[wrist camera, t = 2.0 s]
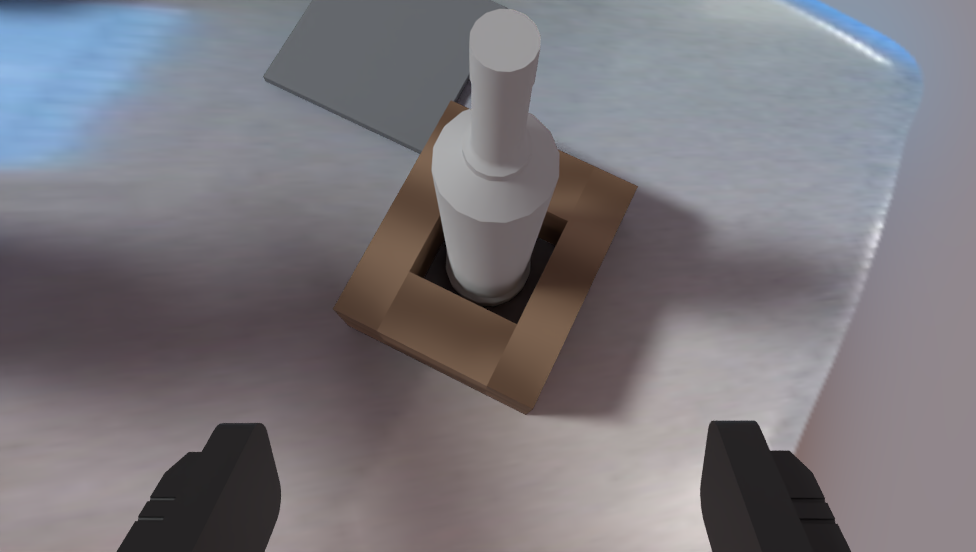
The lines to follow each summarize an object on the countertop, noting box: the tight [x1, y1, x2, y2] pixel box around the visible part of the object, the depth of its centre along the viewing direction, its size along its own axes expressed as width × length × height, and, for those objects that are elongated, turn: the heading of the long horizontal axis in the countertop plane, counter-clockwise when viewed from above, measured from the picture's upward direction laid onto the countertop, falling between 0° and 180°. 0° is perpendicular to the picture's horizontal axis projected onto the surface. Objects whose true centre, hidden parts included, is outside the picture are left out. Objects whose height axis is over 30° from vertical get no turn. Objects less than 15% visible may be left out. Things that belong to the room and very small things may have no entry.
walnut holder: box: [333, 101, 638, 415], centre depth 42 cm, size 14×12×5 cm
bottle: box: [432, 9, 559, 306], centre depth 32 cm, size 5×5×25 cm
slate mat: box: [263, 0, 507, 154], centre depth 48 cm, size 12×12×1 cm
